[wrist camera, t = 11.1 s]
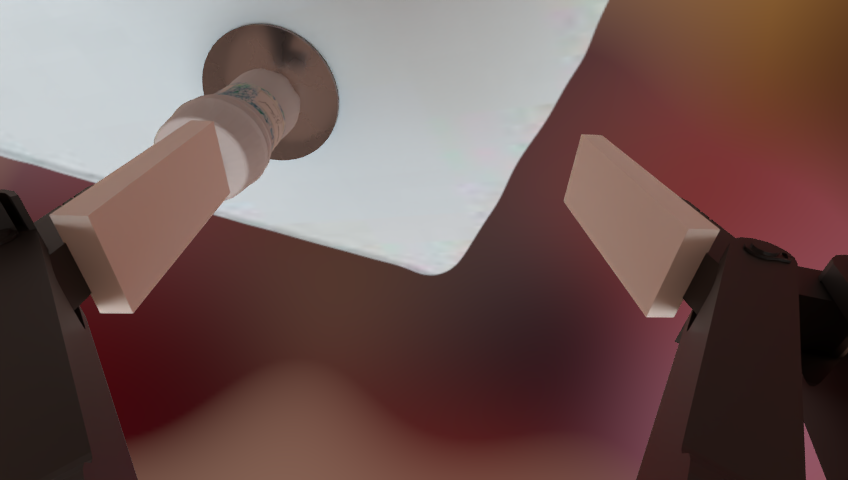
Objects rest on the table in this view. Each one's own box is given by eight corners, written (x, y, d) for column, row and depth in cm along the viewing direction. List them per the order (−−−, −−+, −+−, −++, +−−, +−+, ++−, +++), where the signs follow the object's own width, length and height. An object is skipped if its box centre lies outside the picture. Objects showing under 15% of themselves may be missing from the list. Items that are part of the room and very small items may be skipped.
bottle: (312, 129, 42) (251, 229, 25) (248, 134, 42) (144, 237, 25) (297, 59, 38) (213, 122, 22) (227, 65, 38) (89, 132, 22)
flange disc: (190, 20, 37) (186, 21, 36) (334, 27, 38) (332, 28, 37) (222, 155, 44) (219, 158, 43) (342, 159, 45) (341, 161, 44)
